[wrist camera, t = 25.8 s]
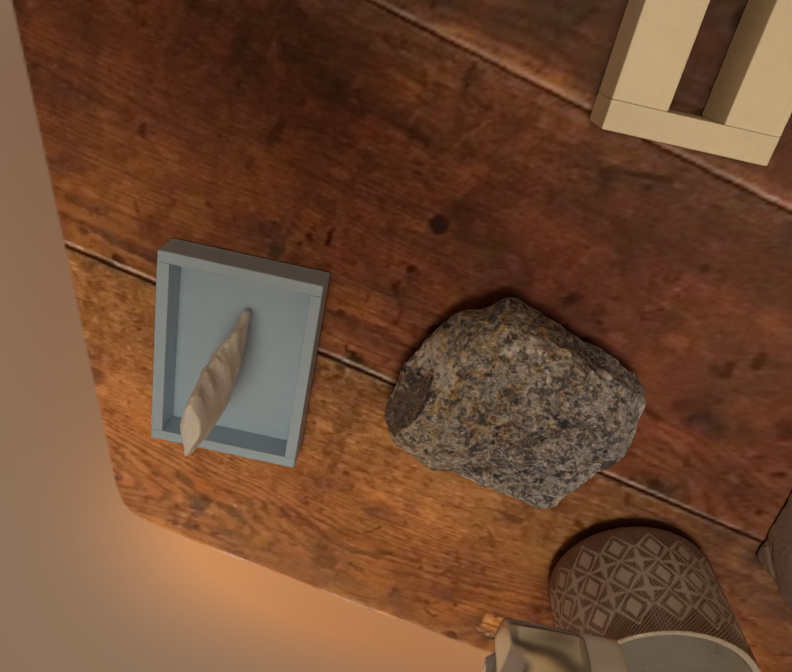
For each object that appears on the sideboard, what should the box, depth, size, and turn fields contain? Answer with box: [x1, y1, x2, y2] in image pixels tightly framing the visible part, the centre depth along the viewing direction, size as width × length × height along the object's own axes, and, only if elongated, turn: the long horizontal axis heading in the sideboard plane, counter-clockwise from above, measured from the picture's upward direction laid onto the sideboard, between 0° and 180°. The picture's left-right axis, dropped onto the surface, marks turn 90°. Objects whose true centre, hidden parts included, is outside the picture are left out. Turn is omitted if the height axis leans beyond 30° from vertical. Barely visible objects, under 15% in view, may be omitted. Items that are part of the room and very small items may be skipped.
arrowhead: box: [180, 310, 251, 456], centre depth 40 cm, size 8×2×10 cm, turn 162°
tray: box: [151, 238, 330, 468], centre depth 44 cm, size 15×11×2 cm
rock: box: [384, 297, 646, 509], centre depth 42 cm, size 13×6×15 cm
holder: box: [589, 0, 792, 166], centre depth 32 cm, size 9×12×4 cm
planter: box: [549, 526, 761, 672], centre depth 47 cm, size 13×13×10 cm
